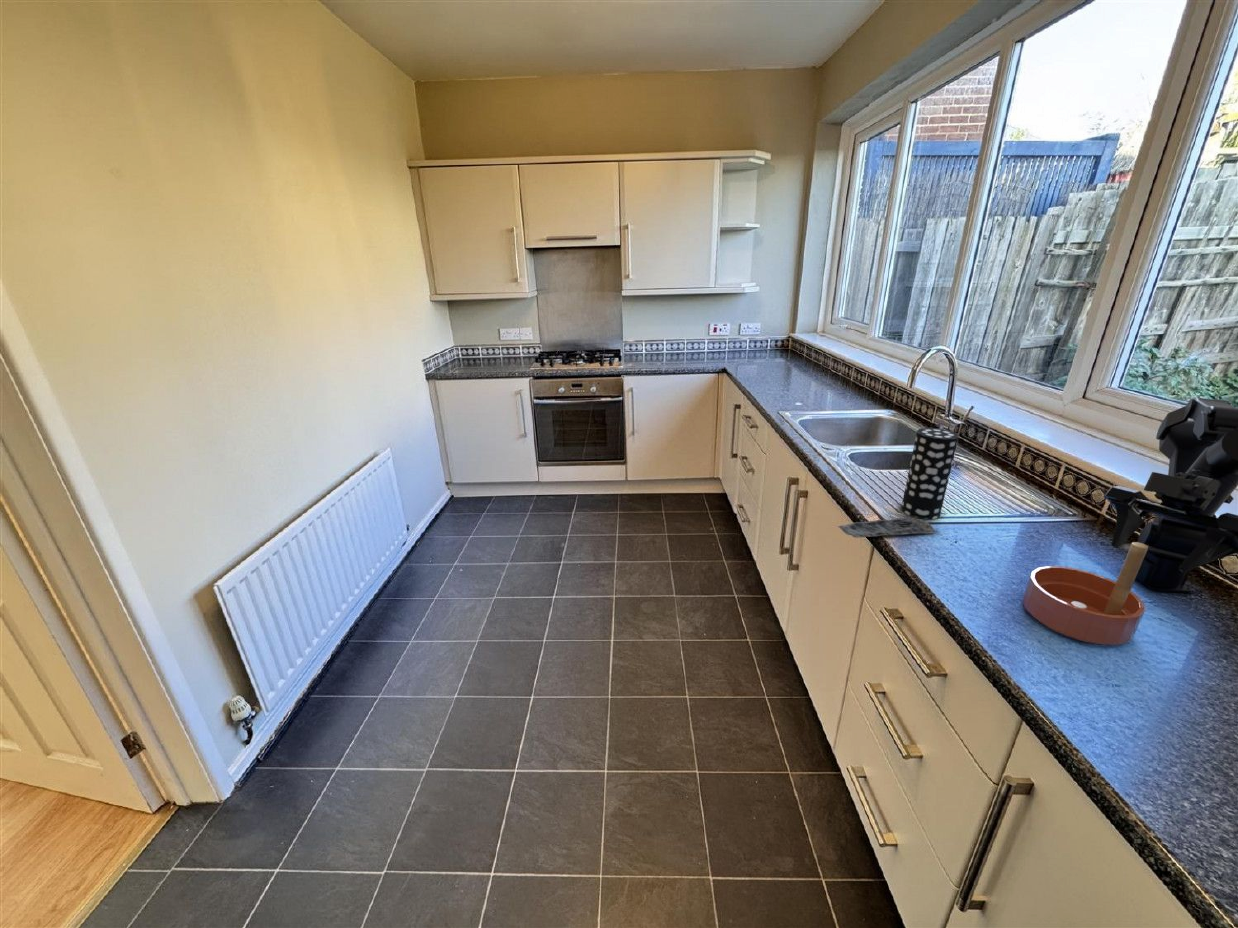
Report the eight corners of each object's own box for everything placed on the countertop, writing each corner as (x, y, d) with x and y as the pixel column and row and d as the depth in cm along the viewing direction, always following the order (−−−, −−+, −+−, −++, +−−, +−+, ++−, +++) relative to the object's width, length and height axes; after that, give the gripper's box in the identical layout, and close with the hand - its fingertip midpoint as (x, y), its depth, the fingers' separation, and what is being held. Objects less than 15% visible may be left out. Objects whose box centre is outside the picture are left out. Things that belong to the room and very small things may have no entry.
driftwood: (920, 520, 119) (922, 512, 118) (940, 535, 113) (942, 526, 112) (836, 527, 117) (837, 519, 117) (851, 542, 111) (852, 533, 110)
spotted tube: (919, 501, 128) (935, 426, 121) (948, 515, 121) (968, 436, 114) (893, 506, 126) (908, 430, 119) (921, 521, 119) (939, 441, 111)
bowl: (1086, 595, 92) (1097, 567, 90) (1156, 650, 79) (1171, 619, 77) (1003, 592, 93) (1011, 564, 91) (1058, 646, 80) (1070, 615, 78)
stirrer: (1040, 601, 89) (1067, 524, 83) (1045, 597, 90) (1072, 521, 84) (1111, 632, 81) (1145, 549, 76) (1115, 627, 82) (1150, 545, 77)
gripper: (1119, 441, 87) (1060, 514, 89) (1274, 468, 70) (1198, 559, 71) (1149, 474, 91) (1092, 544, 92) (1304, 508, 73) (1231, 594, 74)
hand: (1145, 558), depth 82 cm, fingers open, 9 cm apart
